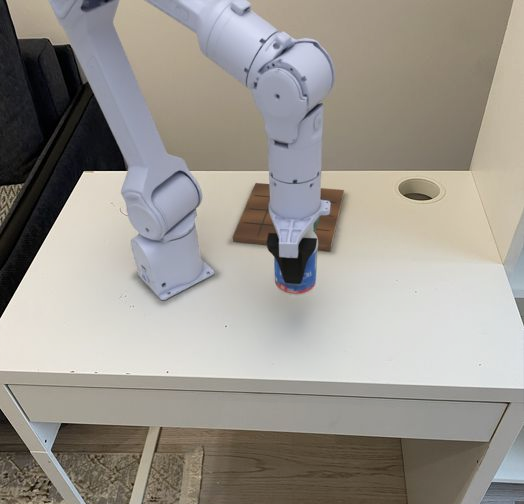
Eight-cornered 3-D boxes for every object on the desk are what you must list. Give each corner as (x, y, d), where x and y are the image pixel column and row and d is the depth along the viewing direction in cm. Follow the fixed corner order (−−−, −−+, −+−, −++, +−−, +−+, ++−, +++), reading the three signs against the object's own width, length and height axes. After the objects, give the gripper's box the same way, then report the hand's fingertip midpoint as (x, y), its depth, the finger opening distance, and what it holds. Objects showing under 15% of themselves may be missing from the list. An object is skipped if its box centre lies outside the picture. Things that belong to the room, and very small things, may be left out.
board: (330, 251, 86) (330, 246, 85) (233, 241, 89) (232, 236, 88) (343, 194, 96) (344, 189, 95) (255, 187, 99) (255, 182, 98)
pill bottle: (275, 298, 70) (272, 236, 63) (274, 270, 73) (271, 208, 66) (318, 296, 70) (320, 234, 62) (315, 268, 73) (317, 206, 66)
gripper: (327, 210, 54) (323, 308, 64) (335, 137, 63) (330, 232, 74) (257, 207, 55) (263, 304, 65) (275, 135, 64) (278, 230, 74)
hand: (295, 266), depth 69 cm, fingers closed on pill bottle, 5 cm apart
